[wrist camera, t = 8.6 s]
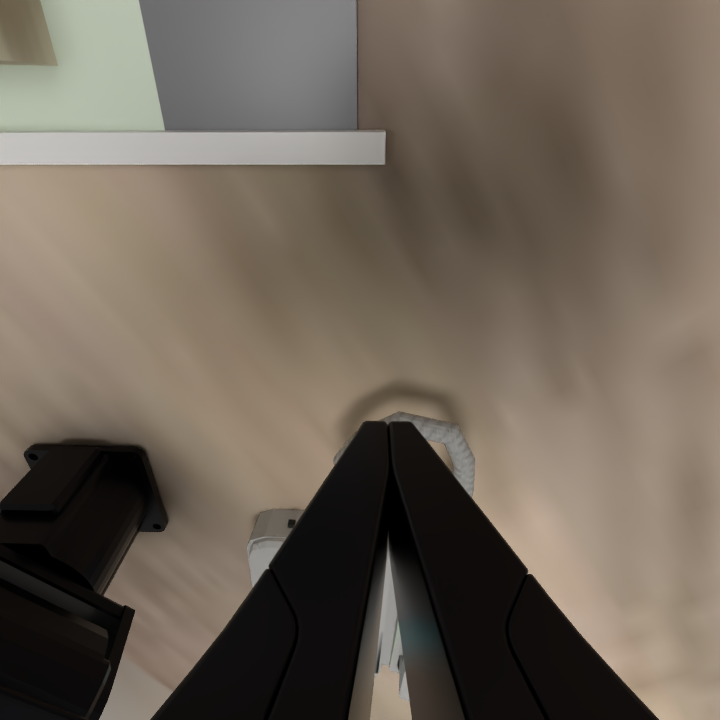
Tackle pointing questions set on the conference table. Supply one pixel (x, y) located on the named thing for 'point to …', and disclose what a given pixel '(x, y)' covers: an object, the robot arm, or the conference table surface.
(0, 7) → the birch block
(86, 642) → the robot arm
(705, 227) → the conference table surface
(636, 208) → the conference table surface
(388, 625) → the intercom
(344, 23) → the trap lane
